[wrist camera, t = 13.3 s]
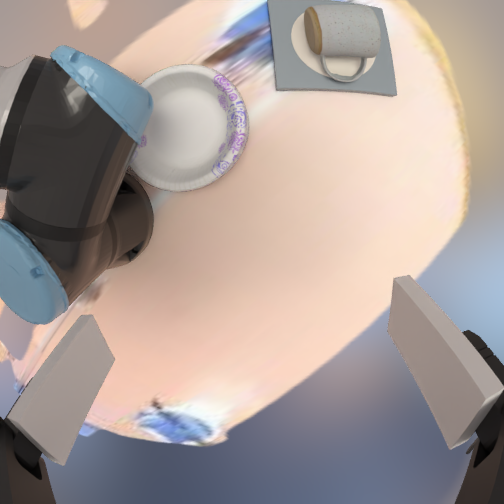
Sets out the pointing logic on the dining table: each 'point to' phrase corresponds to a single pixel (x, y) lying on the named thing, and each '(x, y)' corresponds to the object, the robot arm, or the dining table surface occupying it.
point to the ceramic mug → (342, 34)
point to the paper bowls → (190, 129)
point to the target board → (308, 63)
